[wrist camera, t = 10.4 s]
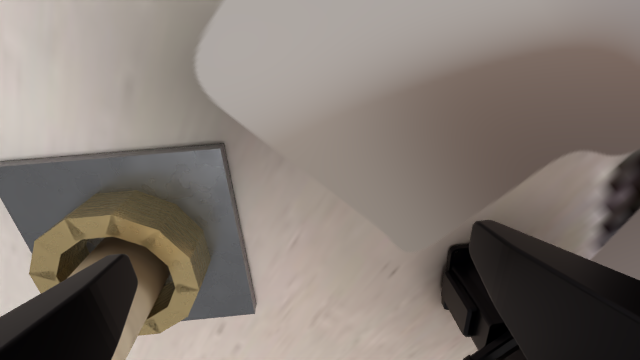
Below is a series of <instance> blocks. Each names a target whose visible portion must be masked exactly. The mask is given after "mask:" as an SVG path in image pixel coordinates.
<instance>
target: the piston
mask: <svg viewBox="0 0 640 360" xmlns="http://www.w3.org/2000/svg"><path fill="white" fill-rule="evenodd" d="M113 254H126V255H128V256H129V258H130V261H131V263H132V266H133V268H134V271H135V273H136V275H137V279H138V287H137V290H136V293H135V296H134V299H133V302H132V305H131V308H130V311H129V314H128V317H127V320H126V323H125V326H124V329H123V332H122V335H121V338H120V340H119V343H118V346H117V348H116V350H115V353H114V355H113V357H112V360H125V359H126V357H127V355H128V353H129V352H130V350H131V348H132V346H133V344H134V342H135V340H136V338H137V336H138V334H139V332H140V330H141V328H142V326H143V325H144V323H145V321H146V319H147V317H148V315H149V313H150V311H151V309H152V307H153V305H154V303H155V301H156V299H157V297H158V296H159V294H160V292H161V290H162V288H163V286H164V284H165V282H166V280H167V278H168V276H169V274H170V270H169V267H168V265H166V264H165V263H164V262H163V261H162V260H161V259H159V258H158V257H157V256H156V255H155V254H154V253H152V252H151V251H150V250H149V249H148V248H147V247H145V246H142V245H139V244H136V243H132V242H129V241H126V240H123V239H120V238H117V237H105V238H104V239H103V240H102V241H101V242H100V243H99V244H98V245H97V246H96V248H95V249H94V250H93V251H92V252H91V253H90V254H89V255H88V256H87V257H86V258H85V259H84V261H83V262H82V263H81V264H80V265H79V266H78V267H77V268H76V269H75V270H74V271H73V272H72V274H71V275H70V276H69V277H71V276H72V275H74V274H76V273H78V272H79V271H81V270H83V269H85V268H86V267H88V266H90V265H92V264H93V263H95V262H97V261H98V260H100V259H102V258H104V257H105V256H107V255H113ZM69 277H68V278H69Z"/></svg>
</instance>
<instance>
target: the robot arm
mask: <svg viewBox="0 0 640 360" xmlns="http://www.w3.org/2000/svg"><path fill="white" fill-rule="evenodd" d="M457 251H458V252H457ZM455 252H457V253H455ZM137 287H138V279H137V275H136V273H135V271H134V268H133V266H132V263H131V261H130V258H129V256H128V255H126V254H113V255H107V256H105V257H104V258H102V259H100V260H98V261H97V262H95V263H93V264H92V265H90V266H88V267H86V268H85V269H83V270H81V271H79V272H78V273H76V274H74V275H72V276H71V277H69V278H67V279H66V280H64V281H62V282H60V283H59V284H57V285H55V286H53V287H52V288H50V289H48V290H46V291H45V292H43V293H41V294H39V295H38V296H36V297H34V298H33V299H31V300H29V301H27V302H26V303H24V304H22V305H20V306H19V307H17V308H15V309H13V310H12V311H10V312H8V313H6V314H5V315H3V316H1V317H0V360H112V357H113V355H114V353H115V350H116V348H117V346H118V343H119V340H120V338H121V335H122V332H123V329H124V326H125V323H126V320H127V317H128V314H129V311H130V308H131V305H132V302H133V299H134V296H135V293H136V290H137ZM441 296H442V305H443V307H444V309H446V310H450V312H451V314H452V316H453V318H454V320H455V321H456V323H457V325H458V327H459V329H460V330H461V332H462V334H463V335H464V336H465V337H471V338H472V340H473V342H474V344H475V345H476V347H477V349H478V351H477V352H475V353H474V354H472V355H471V356H470V355H468V356H467V357H465V358H464V359H463V360H640V280H637V279H635V278H632V277H630V276H627V275H625V274H623V273H620V272H618V271H615V270H613V269H610V268H608V267H605V266H603V265H600V264H598V263H596V262H593V261H591V260H588V259H586V258H583V257H581V256H578V255H576V254H573V253H571V252H569V251H566V250H564V249H561V248H559V247H556V246H554V245H551V244H549V243H546V242H544V241H541V240H539V239H537V238H534V237H532V236H529V235H527V234H524V233H522V232H519V231H517V230H514V229H512V228H510V227H507V226H505V225H502V224H500V223H497V222H495V221H492V220H483V221H476V222H475V223H474V224H473V226H472V232H471V237H470V243H469V244H467V245H457V246H453V247H451V248H450V250H449V254H448V261H447V268H446V271H445V272H444V277H443V284H442V291H441Z"/></svg>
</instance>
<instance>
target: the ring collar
mask: <svg viewBox="0 0 640 360" xmlns="http://www.w3.org/2000/svg"><path fill="white" fill-rule="evenodd" d="M0 198H1V199H2V201H3V203H4V205H5V207H6V208H7V210H8V212H9V214H10V215H11V217H12V219H13V221H14V223H15V224H16V226H17V228H18V230H19V231H20V233H21V235H22V237H23V238H24V240H25V242H26V244H27V246H28V247H29V249H30V251H31V253H32V260H31V266H30V272H29V274H30V276H31V278H32V279H33V281H34V283H35V285H36V286H37V288H38V290H39V291H40V293H43V292H45V291H46V290H48V289H50V288H52V287H53V286H55V285H57V284H59V283H60V282H62V281H64V280H66V279H67V278H68V277H69V276H70V275H71V274H72V272H73V271H74V270H75V269H76V268H77V267H78V266H79V265H80V264H81V263H82V262H83V261H84V259H85V258H86V257H87V256H88V255H89V254H90V253H91V252H92V251H93V250H94V249H95V248H96V246H97V245H98V244H99V243H100V242H101V241H102V240H103V239H104V238H105V237H117V238H120V239H123V240H126V241H129V242H132V243H136V244H139V245H142V246H145V247H147V248H148V249H149V250H150V251H151V252H152V253H154V254H155V255H156V256H157V257H158V258H159V259H161V260H162V261H163V262H164V263H165V264H166V265H168V267H169V270H170V274H169V276H168V278H167V280H166V282H165V284H164V286H163V288H162V290H161V292H160V294H159V296H158V297H157V299H156V301H155V303H154V305H153V307H152V309H151V311H150V313H149V315H148V317H147V319H146V321H145V323H144V325H143V326H142V328H141V330H140V332H139V334H138V335H148V334H158V333H161V332H163V331H164V330H166V329H168V328H169V327H171V326H173V325H175V324H176V323H178V322H180V321H186V320H196V319H206V318H216V317H226V316H236V315H246V314H255V309H256V301H255V296H254V291H253V286H252V281H251V276H250V271H249V266H248V261H247V256H246V251H245V246H244V241H243V236H242V231H241V227H240V222H239V217H238V212H237V207H236V202H235V197H234V192H233V187H232V182H231V177H230V172H229V167H228V162H227V158H226V153H225V148H224V143H223V144H210V145H198V146H186V147H174V148H161V149H149V150H137V151H124V152H112V153H100V154H87V155H75V156H63V157H50V158H38V159H26V160H13V161H1V162H0Z"/></svg>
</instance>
